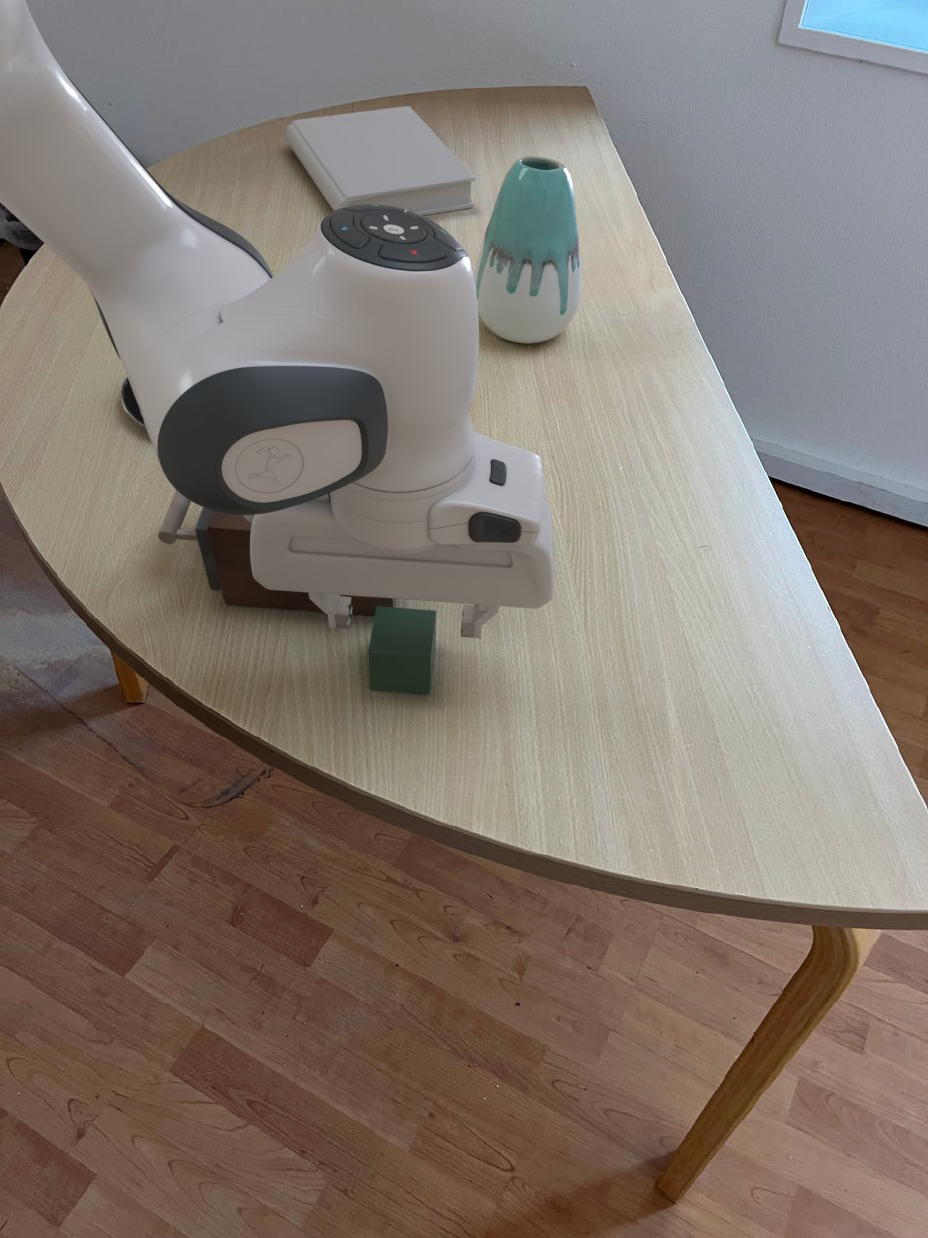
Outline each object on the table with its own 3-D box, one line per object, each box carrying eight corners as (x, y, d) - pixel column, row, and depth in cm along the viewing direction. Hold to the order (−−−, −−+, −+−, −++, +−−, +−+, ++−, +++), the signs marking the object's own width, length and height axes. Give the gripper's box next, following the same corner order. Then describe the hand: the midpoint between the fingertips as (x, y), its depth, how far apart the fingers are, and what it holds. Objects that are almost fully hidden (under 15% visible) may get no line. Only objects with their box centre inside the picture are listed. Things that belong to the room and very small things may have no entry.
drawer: (159, 586, 74) (139, 524, 69) (193, 499, 81) (177, 437, 76) (365, 602, 74) (361, 541, 69) (382, 513, 81) (379, 452, 75)
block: (370, 690, 69) (367, 652, 66) (378, 643, 72) (376, 605, 69) (430, 694, 69) (430, 657, 66) (435, 648, 72) (436, 610, 69)
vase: (527, 288, 108) (543, 125, 94) (598, 332, 102) (625, 166, 88) (450, 320, 103) (454, 153, 89) (519, 369, 97) (535, 198, 83)
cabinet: (224, 604, 74) (206, 527, 68) (256, 507, 82) (241, 428, 75) (393, 617, 74) (390, 540, 68) (409, 518, 82) (408, 440, 75)
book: (409, 105, 131) (475, 177, 117) (409, 133, 134) (473, 207, 120) (284, 121, 126) (337, 198, 112) (287, 150, 129) (339, 228, 115)
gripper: (220, 503, 55) (254, 649, 65) (566, 527, 54) (544, 671, 65) (244, 436, 59) (272, 584, 69) (566, 458, 58) (545, 603, 69)
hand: (406, 626), depth 67 cm, fingers open, 8 cm apart
